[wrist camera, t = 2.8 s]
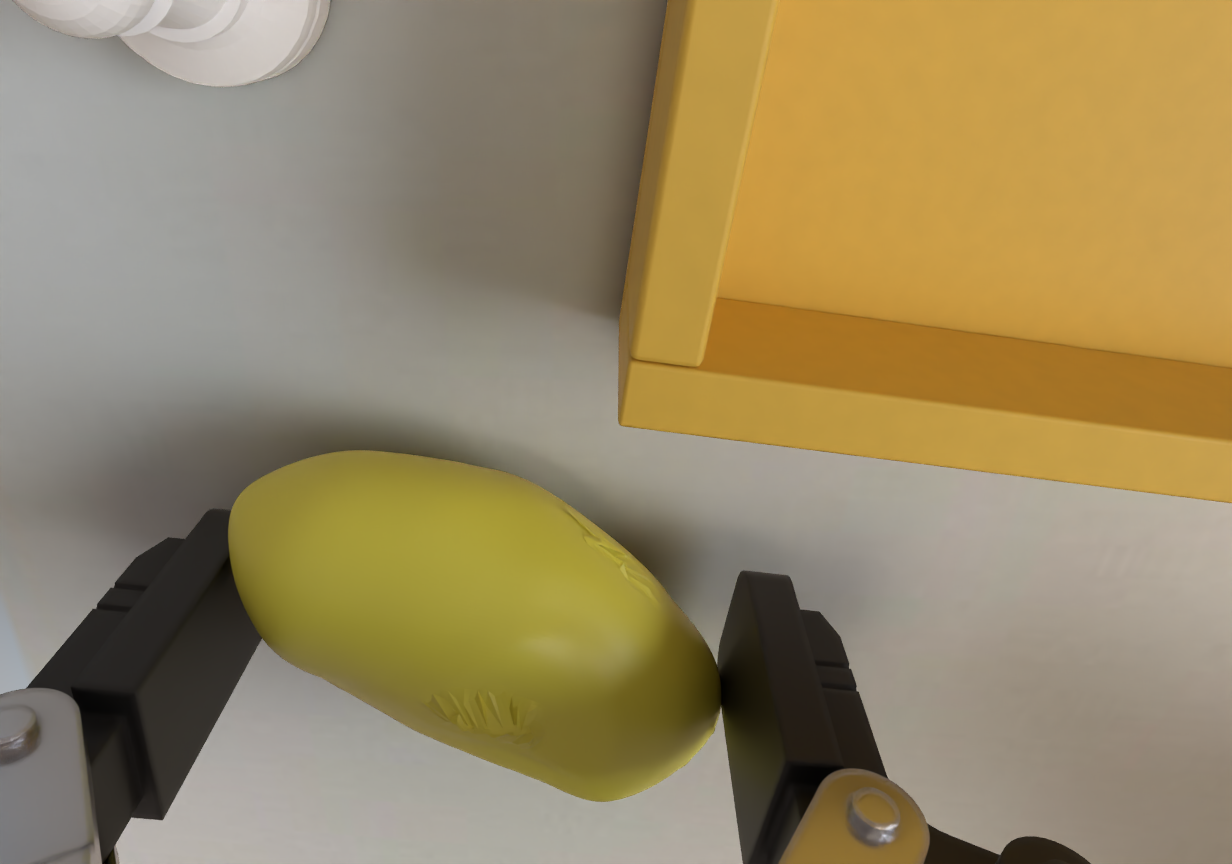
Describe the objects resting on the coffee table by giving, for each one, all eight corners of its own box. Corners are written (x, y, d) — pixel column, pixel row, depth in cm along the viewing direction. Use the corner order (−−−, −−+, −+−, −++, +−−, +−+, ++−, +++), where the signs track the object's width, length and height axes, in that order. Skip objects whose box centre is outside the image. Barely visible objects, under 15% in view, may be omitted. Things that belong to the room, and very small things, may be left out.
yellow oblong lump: (617, 716, 16) (617, 922, 12) (238, 499, 13) (104, 681, 10) (770, 587, 14) (819, 782, 11) (371, 312, 11) (265, 450, 8)
